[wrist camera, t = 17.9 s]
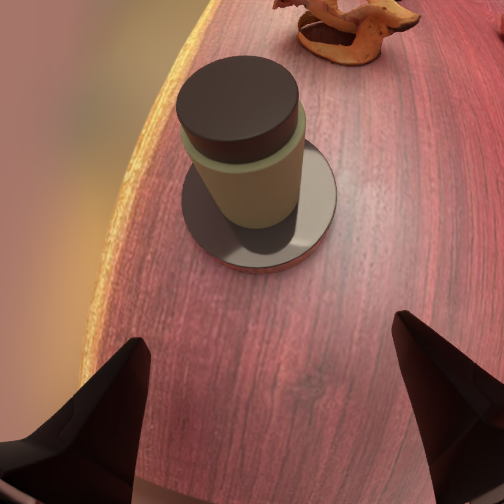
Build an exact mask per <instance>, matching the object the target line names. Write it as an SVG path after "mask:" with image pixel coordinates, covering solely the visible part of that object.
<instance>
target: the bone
mask: <svg viewBox="0 0 504 504" xmlns="http://www.w3.org/2000/svg"><path fill="white" fill-rule="evenodd" d="M367 1H368V3H369V4H364V5H362V6H359V7H358V8H357V9H355V10H352V11H350V12H348V13H342V12H341V11H340V10H339V9H338V5H337V0H275V1H274V5H273V9H274V10H275V9H277V8H278V7H280V8H285V7H287V6H293V4H294V5H295V6H296V7H298V6H299V5H304V6H305V8H306V9H307V10H309V11H306V12H305V14H303V15H302V16H301V17H300V19H299V22H298V30H299V32H298V35H296V39H297V40H298V42H300V45H301V46H303V48H306V49H307V50H309V51H311V53H313V54H314V55H316V56H318V57H321V58H324V59H327V60H330V61H332V62H331V63H332V64H334V63H333V62H336V63H339V64H343V65H347V66H349V65H354V66H355V65H356V66H357V65H358V66H360V65H362V64H366V63H370V62H372V61H373V60H375V59H377V57H378V58H379V56H380V54H381V46H382V41H383V38H385V37H387V36H389V35H392V34H393V33H395V32H404V31H406V30H408V29H410V28H412V27H414V26H415V25H416V24H418V22H419V19H420V18H421V16H420V15H418V14H417V13H416V14H415V13H413V12H410V11H409V10H407V9H405V8H403V7H402V6H400V5H399V4H397V3H396V2H395V1H394V0H367ZM318 21H323V22H324V23H325V24H327V25H328V26H331V27H334V28H336V29H337V30H338V31H343V32H348V33H353V34H356V38H355V40H354V41H353V44H352V45H351V46H342V44H339V45H331V44H325V43H320V42H313V41H312V42H311V41H309V40H308V39H307V38H306V36H305V35H304V34H302V33H301V32H300V29H301V28H302V27H303V26H305V25H307V24H311V23H314V22H318Z"/></svg>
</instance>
